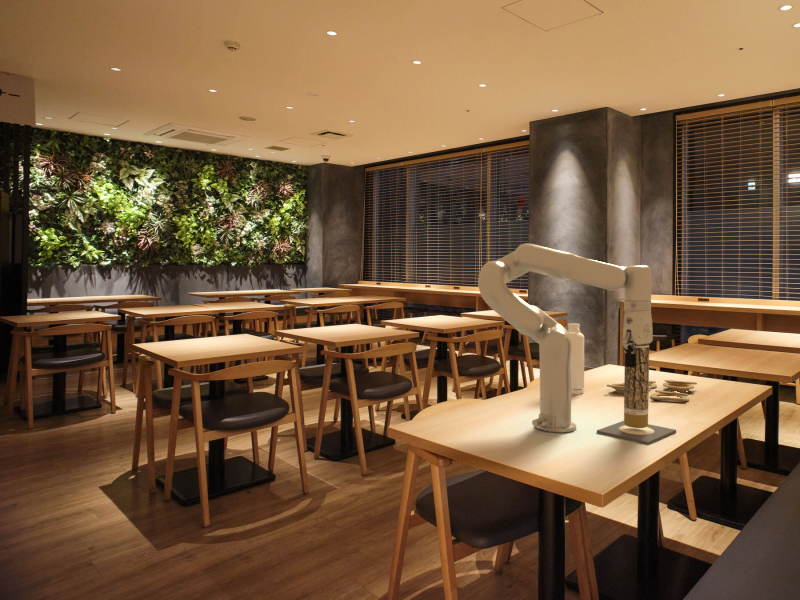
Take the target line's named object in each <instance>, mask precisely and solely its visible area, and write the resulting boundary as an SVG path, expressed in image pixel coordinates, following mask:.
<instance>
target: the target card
mask: <svg viewBox="0 0 800 600" xmlns="http://www.w3.org/2000/svg"><path fill="white" fill-rule="evenodd" d="M599 433H600V434H601V435H605V436H608V437H612V436H613V438H617V439H621V438H622V440H627V441H630V440H631V442H634V441H635V442H636V443H640V444H644V445H651V444H653V443H655V442H657V441H658V442H659V440H663V439H664V438H667V437H669V436H671V435H673V434H676V433H677V429H674V428H668V427H666V426H665V427H664V426H660V425H653V424H649V423H648V426H647V427H645V428H632V427H628V426H626V425H625V424H624V420H621V421H619V422H616V423H613V424H611V425H608V426H605V427H602V428H599V429H597V430H596V434H599ZM600 434H599V435H600Z"/></svg>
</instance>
